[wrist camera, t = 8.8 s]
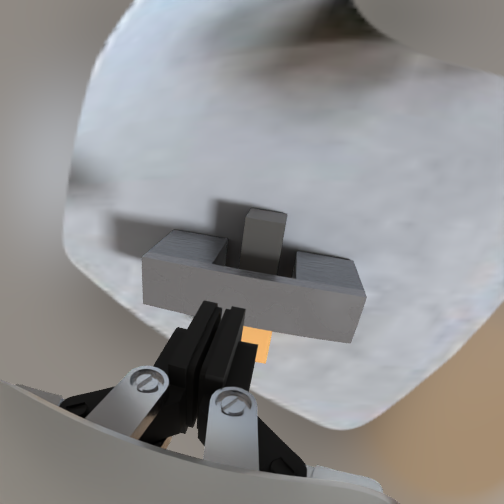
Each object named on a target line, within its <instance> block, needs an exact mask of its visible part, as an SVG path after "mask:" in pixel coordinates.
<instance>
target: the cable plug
mask: <svg viewBox="0 0 504 504" xmlns="http://www.w3.org/2000/svg"><path fill="white" fill-rule="evenodd" d="M286 219H287V214H285V213H279V212H273V211H267V210H261V209H255V208H251V209H250V211H249V213H248V214H247V216H246V217H245V225H244V233H243V241H242V248H241V256H240V264H239V269H242V270H248V271H253V272H259V273H265V274H270V275H276V276H277V271H278V265H279V259H280V254H281V248H282V242H283V237H284V231H285V225H286ZM271 335H272V331H267V330H262V329H257V328H251V327H246V326H243V332H242V338H241V341H242V342H247V343H253V344H258V349H257V354H256V359H255V362H260V363H265V364H266V359H267V354H268V350H269V345H270V340H271Z"/></svg>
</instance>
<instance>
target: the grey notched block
mask: <svg viewBox="0 0 504 504" xmlns="http://www.w3.org/2000/svg"><path fill="white" fill-rule="evenodd" d="M227 244H228V239H226V238H220V237H215V236H209V235H203V234H197V233H191V232H185V231H179V230H173V231H172V232H171V233H169V234H168V235H167V236H166V237H165V238H163V239H162V240H161V241H160V242H159V243H157V244H156V245H155V246H154V247H153V248H151V249H150V250H149V251H148V252H147V253H146V254H144V255H143V256H142V285H143V304H146V305H150V306H154V307H159V308H163V309H167V310H171V311H175V312H180V313H184V314H188V315H193V316H195V315H196V313H197V311H198V309H199V307H200V306H201V304H202V302H203V301H204V300H205V301H210V302H215V303H218V307H221V308H222V316H221V319H222V317H223V314H224V312H225V310H226V309H231V307H232V306H234V307H239V308H244V309H246V313H245V319H244V326H246V327H251V328H257V329H262V330H267V331H273V332H279V333H285V334H291V335H297V336H303V337H309V338H316V339H322V340H329V341H336V342H343V343H351V341H352V338H353V336H354V333H355V330H356V327H357V325H358V322H359V319H360V316H361V313H362V310H363V307H364V304H365V301H366V298H367V297H366V294H365V291H364V288H363V286H362V283H361V280H360V278H359V275H358V272H357V270H356V267H355V264H354V262H353V261H351V260H346V259H340V258H334V257H329V256H323V255H318V254H312V253H306V252H301V251H297V254H296V259H295V264H294V269H293V274H292V278H287V277H281V276H276V275H270V274H265V273H259V272H253V271H248V270H242V269H237V268H231V267H226V266H225V263H226V253H227Z"/></svg>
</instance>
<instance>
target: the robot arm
mask: <svg viewBox="0 0 504 504" xmlns="http://www.w3.org/2000/svg"><path fill="white" fill-rule="evenodd" d="M245 313H246V309H244V308H239V307H234V306H232V307H231V309H226V310H225V312H224V314H223V317H222V319H221V316H222V308H221V307H218V303H215V302H210V301H205V300H204V301H203V302H202V304H201V306H200V307H199V309H198V311H197V313H196V315H195V316H194V318H193V320H192V322H191V324H190V325H189V327H188V329H183V328H179V327H178V328H176V329H175V331H174V333H173V334H172V336H171V338H170V339H169V341H168V343H167V344H166V346H165V347H164V349H163V351H162V352H161V354H160V356H159V358H158V359H157V361H156V362H155V364H154V366H140V367H137V368H134V369H132V370H131V371H130V372H128V374H127V375H126V376H125V377H124V378H123V379H122V380H121V381H120V382H119V383H118V384H117V385H116V386H115V387H111V388H107V389H103V390H99V391H94V392H90V393H86V394H81V395H77V396H72V397H69V398H67V399H63V397H62V396H61V395H56V394H53V393H49V392H45V391H41V390H38V389H34V388H31V387H27V386H24V385H19V384H16V385H14V384H12V383H9V382H7V381H4V380H1V379H0V504H400V503H398V502H397V501H396V500H395V499H393V498H391V497H389V496H387V495H385V494H383V489H382V488H381V486H380V484H379V483H378V482H377V481H375V480H374V479H371V478H369V477H363V476H359V475H354V474H350V473H346V472H341V471H338V470H333V469H330V468H326V467H322V466H318V465H316V466H315V467H312V466H308V465H305V463H304V462H303V461H302V459H301V458H300V457H299V456H298V455H297V454H295V453H294V452H293V451H292V450H291V449H290V448H289V447H288V446H287V445H286V444H285V443H284V442H283V441H282V440H281V439H280V438H279V437H278V436H277V435H276V434H275V433H274V432H273V431H272V430H271V429H270V428H269V427H268V426H267V425H266V424H265V423H264V422H263V421H262V420H261V419H260V418H259V417H258V416H257V403H256V400H255V398H254V397H253V395H252V394H251V393H249V388H250V383H251V379H252V374H253V369H254V364H255V359H256V354H257V349H258V344H253V343H247V342H242V341H241V338H242V332H243V326H244V319H245ZM196 419H197V429H198V439H199V440H200V441H201V442H202V444H203V445H204V446H205V449H204V458H203V459H199V458H195V457H191V456H188V455H184V454H180V453H177V452H173V451H170V450H167V449H166V448H167V447H168V445H169V444H170V442H171V439H172V436H173V435H176V434H179V433H184V434H185V433H186V431H187V428H188V427H192V428H193V426H194V424H195V421H196Z"/></svg>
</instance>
